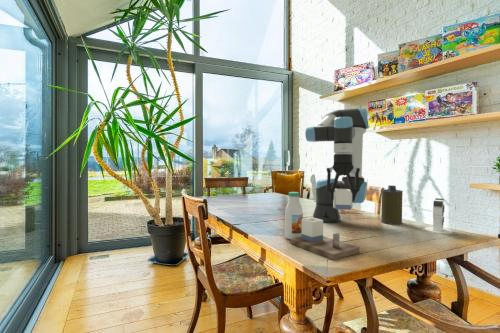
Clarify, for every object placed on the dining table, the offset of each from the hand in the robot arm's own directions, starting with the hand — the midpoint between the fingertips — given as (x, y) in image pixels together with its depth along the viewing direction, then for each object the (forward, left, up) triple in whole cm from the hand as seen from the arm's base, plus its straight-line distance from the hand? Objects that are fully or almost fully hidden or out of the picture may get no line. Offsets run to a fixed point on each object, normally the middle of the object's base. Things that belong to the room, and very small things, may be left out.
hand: (342, 207), depth 122 cm
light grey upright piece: (+16, +50, -14) cm, 54 cm away
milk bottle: (-13, -16, -14) cm, 25 cm away
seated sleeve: (-2, -16, -12) cm, 20 cm away
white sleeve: (0, 0, 0) cm, 0 cm away
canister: (-6, +48, -14) cm, 50 cm away
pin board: (+4, -16, -14) cm, 22 cm away
